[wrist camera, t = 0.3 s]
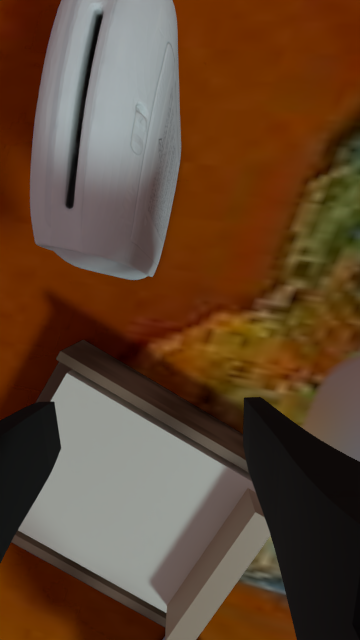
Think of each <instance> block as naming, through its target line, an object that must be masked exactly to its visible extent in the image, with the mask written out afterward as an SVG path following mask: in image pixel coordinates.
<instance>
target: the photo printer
mask: <svg viewBox="0 0 360 640" xmlns="http://www.w3.org/2000/svg"><path fill="white" fill-rule="evenodd" d="M180 158H181V131H180V104H179V70H178V36H177V18H176V12H175V7H174V4H173V1H172V0H61V2H60V5H59V8H58V10H57V14H56V17H55V21H54V24H53V28H52V31H51V35H50V39H49V43H48V48H47V52H46V56H45V61H44V66H43V72H42V77H41V83H40V88H39V96H38V101H37V108H36V115H35V123H34V132H33V142H32V156H31V174H30V210H31V220H32V227H33V234H34V239H35V243H36V244H37V245H38V246H40V247H43V248H46V249H49V250H52V251H54V252H55V253H56V254H57V255H58V256H60V257H61V258H62V259H63V260H65V261H66V262H68V263H70V264H72V265H74V266H76V267H79V268H82V269H86V270H90V271H94V272H99V273H103V274H107V275H111V276H116V277H120V278H124V279H129V280H139V279H143V278H145V277H147V276H150V277H153V275H154V273H155V271H156V269H157V266H158V263H159V260H160V257H161V253H162V249H163V245H164V241H165V236H166V232H167V227H168V223H169V218H170V213H171V208H172V203H173V198H174V194H175V188H176V183H177V177H178V171H179V166H180Z"/></svg>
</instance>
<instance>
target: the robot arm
mask: <svg viewBox="0 0 360 640" xmlns="http://www.w3.org/2000/svg"><path fill="white" fill-rule="evenodd" d="M243 448H244V453H245V457H246V462H247V466H248V471H249V474H250V477H251V480H252V483H253V486H254V489H255V491H256V494H257V497H258V500H259V503H260V506H261V509H262V511H263V514H264V517H265V520H266V523H267V526H268V529H269V531H270V534H271V538H272V541H273V544H274V548H275V551H276V555H277V559H278V563H279V567H280V571H281V575H282V579H283V583H284V587H285V591H286V595H287V599H288V604H289V608H290V612H291V616H292V620H293V624H294V629H295V633H296V638H297V640H360V462H359V461H357V460H355V459H353V458H351V457H349V456H347V455H346V454H344V453H342V452H340V451H338V450H336V449H334V448H333V447H331V446H329V445H328V444H326V443H324V442H323V441H321V440H319V439H318V438H316V437H315V436H313V435H312V434H310V433H309V432H307V431H305V430H304V429H303V428H301V427H300V426H298V425H297V424H296V423H294V422H293V421H291V420H290V419H289V418H287V417H286V416H285V415H283V414H282V413H281V412H279V411H278V410H277V409H276V408H274V407H273V406H272V405H270V404H269V403H268V402H266V401H265V400H264V399H262V398H261V397H251V398H244V423H243ZM60 450H61V443H60V436H59V429H58V423H57V416H56V409H55V402H37V403H34V404H32V405H30V406H28V407H25V408H23V409H21V410H19V411H18V412H16V413H14V414H12V415H10V416H8V417H6V418H4V419H2V420H0V563H1V561H2V559H3V557H4V554H5V552H6V550H7V549H8V547H9V545H10V543H11V541H12V539H13V538H14V536H15V534H16V532H17V531H18V529H19V527H20V526H21V524H22V522H23V520H24V519H25V517H26V515H27V514H28V512H29V510H30V509H31V507H32V505H33V503H34V502H35V500H36V498H37V497H38V495H39V493H40V491H41V490H42V488H43V486H44V485H45V483H46V481H47V479H48V478H49V476H50V474H51V472H52V469H53V467H54V465H55V463H56V460H57V458H58V455H59V453H60ZM163 640H165V637H164V638H163Z"/></svg>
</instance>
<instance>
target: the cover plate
mask: <svg viewBox="0 0 360 640" xmlns="http://www.w3.org/2000/svg"><path fill="white" fill-rule="evenodd" d="M50 402H55V409H56V416H57V423H58V429H59V436H60V443H61V450H60V453H59V455H58V458H57V460H56V463H55V465H54V467H53V469H52V472H51V474H50V476H49V478H48V479H47V481H46V483H45V485H44V486H43V488H42V490H41V491H40V493H39V495H38V497H37V498H36V500H35V502H34V503H33V505H32V507H31V509H30V510H29V512H28V514H27V515H26V517H25V519H24V520H23V522H22V524H21V526H20V527H19V529H18V531H20V532H22V533H24V534H26V535H27V536H29V537H31V538H33V539H35V540H36V541H38V542H40V543H42V544H44V545H45V546H47V547H49V548H51V549H52V550H54V551H56V552H58V553H60V554H61V555H63V556H65V557H67V558H69V559H70V560H72V561H74V562H76V563H78V564H79V565H81V566H83V567H85V568H87V569H88V570H90V571H92V572H94V573H95V574H97V575H99V576H101V577H103V578H104V579H106V580H108V581H110V582H112V583H113V584H115V585H117V586H119V587H121V588H122V589H124V590H126V591H128V592H130V593H131V594H133V595H135V596H137V597H139V598H140V599H142V600H144V601H146V602H147V603H149V604H151V605H153V606H155V607H156V608H158V609H160V610H162V611H164V612H165V613H166V630H165V640H196V639H197V638H198V636H199V635H200V633H201V632H202V631H203V629H204V628H205V626H206V625H207V624H208V622H209V621H210V619H211V618H212V617H213V615H214V614H215V612H216V611H217V610H218V608H219V607H220V605H221V604H222V603H223V601H224V600H225V598H226V597H227V596H228V594H229V593H230V591H231V590H232V589H233V587H234V586H235V584H236V583H237V581H238V580H239V579H240V577H241V576H242V574H243V573H244V572H245V570H246V569H247V567H248V566H249V565H250V563H251V562H252V560H253V559H254V558H255V556H256V555H257V553H258V552H259V551H260V549H261V548H262V546H263V545H264V544H265V542H266V541H267V539H268V538H269V537H270V535H271V534H270V531H269V529H268V526H267V523H266V520H265V517H264V514H263V511H262V509H261V506H260V503H259V500H258V497H257V494H256V491H255V489H254V486H253V483H252V480H251V477H250V474H249V473H248V472H247V471H245V470H243V469H242V468H240V467H238V466H236V465H235V464H233V463H231V462H230V461H228V460H226V459H225V458H223V457H221V456H219V455H218V454H216V453H214V452H213V451H211V450H209V449H208V448H206V447H204V446H202V445H201V444H199V443H197V442H196V441H194V440H192V439H191V438H189V437H187V436H185V435H184V434H182V433H180V432H179V431H177V430H175V429H174V428H172V427H170V426H168V425H167V424H165V423H163V422H162V421H160V420H158V419H157V418H155V417H153V416H151V415H150V414H148V413H146V412H145V411H143V410H141V409H139V408H138V407H136V406H134V405H133V404H131V403H129V402H128V401H126V400H124V399H122V398H121V397H119V396H117V395H116V394H114V393H112V392H111V391H109V390H107V389H105V388H104V387H102V386H100V385H99V384H97V383H95V382H94V381H92V380H90V379H88V378H87V377H85V376H83V375H82V374H80V373H78V372H77V371H75V370H73V369H72V370H70V371H69V372H68V373H67V374H66V375H65V377H64V379H63V380H62V382H61V384H60V386H59V387H58V389H57V391H56V393H55V394H54V396H53V398H52V400H51V401H50Z"/></svg>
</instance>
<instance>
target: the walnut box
mask: <svg viewBox="0 0 360 640" xmlns="http://www.w3.org/2000/svg"><path fill="white" fill-rule="evenodd" d="M56 360H58V361H59V363H58V365H57V366H56V368H55V370H54V372H53V373H52V375H51V377H50V379H49V380H48V382H47V384H46V386H45V387H44V389H43V391H42V393H41V394H40V396H39V398H38V400H37V401H36V403H37V402H50V401H51V400H52V398H53V396H54V394H55V393H56V391H57V389H58V387H59V386H60V384H61V382H62V380H63V379H64V377H65V375H66V374H67V373H68V372H69V371H70V370H72V369H73V370H75V371H77V372H78V373H80V374H82V375H83V376H85V377H87V378H88V379H90V380H92V381H94V382H95V383H97V384H99V385H100V386H102V387H104V388H105V389H107V390H109V391H111V392H112V393H114V394H116V395H117V396H119V397H121V398H122V399H124V400H126V401H128V402H129V403H131V404H133V405H134V406H136V407H138V408H139V409H141V410H143V411H145V412H146V413H148V414H150V415H151V416H153V417H155V418H157V419H158V420H160V421H162V422H163V423H165V424H167V425H168V426H170V427H172V428H174V429H175V430H177V431H179V432H180V433H182V434H184V435H185V436H187V437H189V438H191V439H192V440H194V441H196V442H197V443H199V444H201V445H202V446H204V447H206V448H208V449H209V450H211V451H213V452H214V453H216V454H218V455H219V456H221V457H223V458H225V459H226V460H228V461H230V462H231V463H233V464H235V465H236V466H238V467H240V468H242V469H243V470H245V471H247V472H248V473H249V471H248V466H247V462H246V457H245V453H244V448H243V434H242V433H240V432H238V431H237V430H235V429H233V428H232V427H230V426H228V425H227V424H225V423H223V422H221V421H220V420H218V419H216V418H215V417H213V416H211V415H210V414H208V413H206V412H205V411H203V410H201V409H200V408H198V407H196V406H194V405H193V404H191V403H189V402H188V401H186V400H184V399H183V398H181V397H179V396H178V395H176V394H174V393H173V392H171V391H169V390H168V389H166V388H164V387H162V386H161V385H159V384H157V383H156V382H154V381H152V380H151V379H149V378H147V377H146V376H144V375H142V374H141V373H139V372H137V371H136V370H134V369H132V368H130V367H129V366H127V365H125V364H124V363H122V362H120V361H119V360H117V359H115V358H114V357H112V356H110V355H109V354H107V353H105V352H103V351H102V350H100V349H98V348H97V347H95V346H93V345H92V344H90V343H88V342H87V341H85V340H82V341H80V342H78V343H76V344H74V345H72V346H70V347H68V348H66V349H64V350H62V351H60V353H59V354H58V356H57V358H56ZM11 542H12V543H14V544H16V545H17V546H19V547H21V548H23V549H25V550H26V551H28V552H30V553H32V554H34V555H35V556H37V557H39V558H41V559H43V560H44V561H46V562H48V563H50V564H52V565H53V566H55V567H57V568H59V569H61V570H62V571H64V572H66V573H68V574H70V575H71V576H73V577H75V578H77V579H79V580H80V581H82V582H84V583H86V584H88V585H89V586H91V587H93V588H95V589H97V590H98V591H100V592H102V593H104V594H106V595H107V596H109V597H111V598H113V599H115V600H116V601H118V602H120V603H122V604H124V605H125V606H127V607H129V608H131V609H133V610H134V611H136V612H138V613H140V614H142V615H143V616H145V617H147V618H149V619H151V620H152V621H154V622H156V623H158V624H160V625H161V626H163V627H165V628H166V613H165V612H164V611H162V610H160V609H158V608H156V607H155V606H153V605H151V604H149V603H147V602H146V601H144V600H142V599H140V598H139V597H137V596H135V595H133V594H131V593H130V592H128V591H126V590H124V589H122V588H121V587H119V586H117V585H115V584H113V583H112V582H110V581H108V580H106V579H104V578H103V577H101V576H99V575H97V574H95V573H94V572H92V571H90V570H88V569H87V568H85V567H83V566H81V565H79V564H78V563H76V562H74V561H72V560H70V559H69V558H67V557H65V556H63V555H61V554H60V553H58V552H56V551H54V550H52V549H51V548H49V547H47V546H45V545H44V544H42V543H40V542H38V541H36V540H35V539H33V538H31V537H29V536H27V535H26V534H24V533H22V532H20V531H17V532H16V534H15V536H14V538H13V539H12V541H11Z"/></svg>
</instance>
